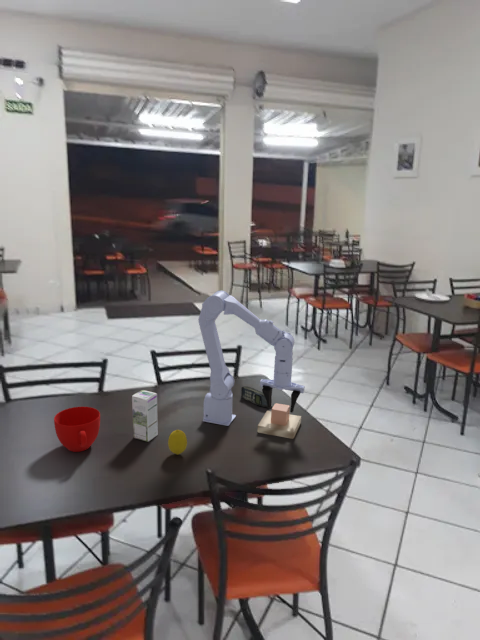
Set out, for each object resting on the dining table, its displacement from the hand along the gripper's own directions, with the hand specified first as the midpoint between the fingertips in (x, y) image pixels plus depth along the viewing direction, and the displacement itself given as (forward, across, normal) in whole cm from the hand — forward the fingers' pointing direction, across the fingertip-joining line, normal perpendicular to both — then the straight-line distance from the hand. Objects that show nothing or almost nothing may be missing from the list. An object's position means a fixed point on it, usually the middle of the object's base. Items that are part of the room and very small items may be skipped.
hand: (280, 409), depth 157 cm
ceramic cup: (+7, -52, -36) cm, 64 cm away
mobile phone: (+7, -12, +16) cm, 21 cm away
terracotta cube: (+4, 0, 0) cm, 4 cm away
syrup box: (+7, -38, -22) cm, 44 cm away
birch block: (+7, 0, 0) cm, 7 cm away
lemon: (+7, -24, -28) cm, 37 cm away
